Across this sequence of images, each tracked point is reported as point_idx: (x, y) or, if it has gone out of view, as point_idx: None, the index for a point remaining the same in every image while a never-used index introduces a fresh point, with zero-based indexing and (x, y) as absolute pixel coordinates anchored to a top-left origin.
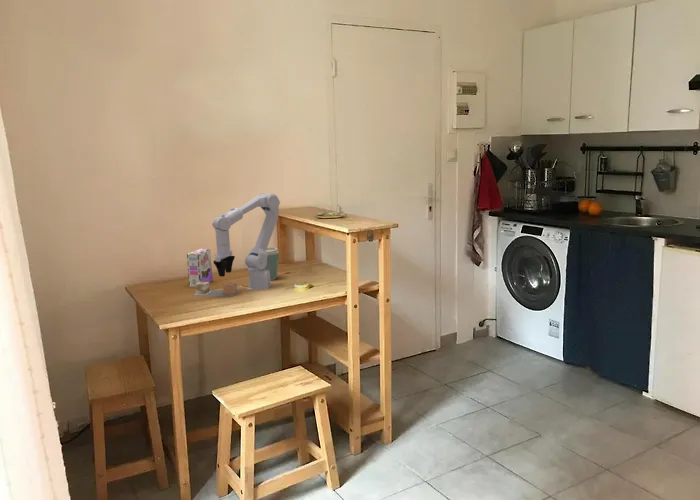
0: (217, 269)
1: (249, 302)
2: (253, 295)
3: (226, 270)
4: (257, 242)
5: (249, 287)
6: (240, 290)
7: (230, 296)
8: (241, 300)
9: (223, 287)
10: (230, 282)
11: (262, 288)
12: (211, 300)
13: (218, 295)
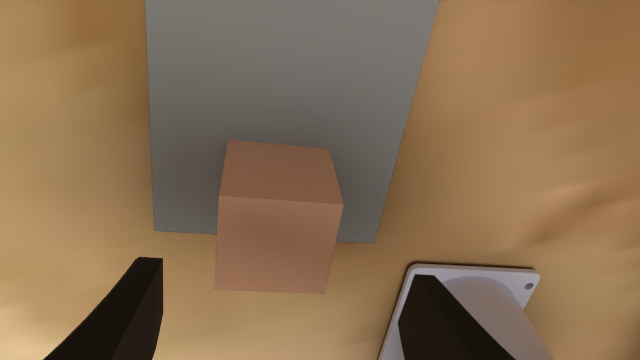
0: (60, 346)
1: (48, 351)
2: (247, 332)
3: (422, 301)
4: None
5: (458, 277)
6: (371, 239)
7: (161, 212)
8: (93, 296)
9: (222, 178)
10: (326, 242)
11: (397, 357)
12: (39, 51)
13: (192, 94)
